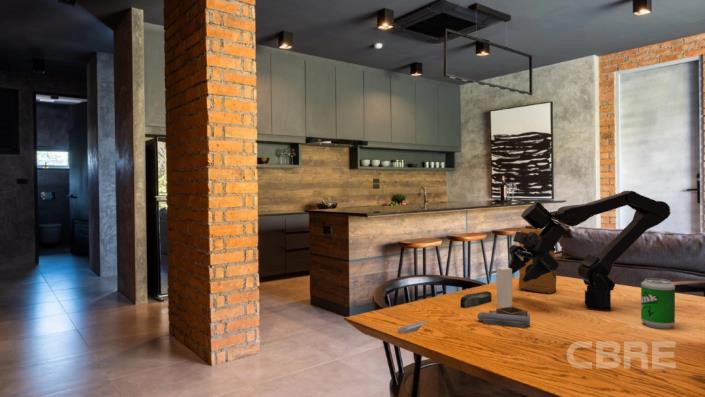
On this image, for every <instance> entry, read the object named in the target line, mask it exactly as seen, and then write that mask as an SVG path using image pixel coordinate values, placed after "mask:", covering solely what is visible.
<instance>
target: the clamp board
mask: <svg viewBox="0 0 705 397" xmlns="http://www.w3.org/2000/svg"><path fill="white" fill-rule="evenodd" d="M528 312H529V311H528V310H525V309H522V308H519V307H515V306H513V305H512V306H511V307H504V308H501V307H499V308H495V310H491V309H490V310H489V311H488V313H497V314H507V315H518V316H529V317H530V318H531V314H530V313H528ZM482 325H488V326H490V325H491V326H498V327H499V326H500V327H509V328H518V329H528V327H529V326H527V323H525V322H514V321H504V320H494V319H484V318H483V321H482Z"/></svg>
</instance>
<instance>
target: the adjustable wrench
mask: <svg viewBox="0 0 705 397" xmlns="http://www.w3.org/2000/svg"><path fill="white" fill-rule="evenodd" d="M427 321H428V320H422V321H419V322H415V323H412V324H411V323H410V324H408V325H404V326H399V327H398V329H397V330H398V331H397V332H399V333H398V334H400V333H407V334H410V333H413V331H414V332H417V331H419V330H420V328H421V327H422V326H423V325H424V324H425V323H426V322H427ZM409 332H410V333H409Z"/></svg>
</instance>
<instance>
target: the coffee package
mask: <svg viewBox="0 0 705 397" xmlns="http://www.w3.org/2000/svg"><path fill="white" fill-rule="evenodd" d="M542 230H543V229H534V228H520V231H519V232H524V233H527V234H528V233H529V232H534V233H536V234H537V235H539V233H540V232H541V231H542ZM518 246H522V247H523V244H520V243H519V245H518ZM523 248H524V247H523ZM524 250H525V251H526V252H527V250H526V249H525V248H524ZM550 254H551V255H552V256H553V257H554V258H555V257H556V256H555V251H554V252H553V251H550ZM555 259H556V258H555ZM532 261H533V260H531V259H530V260H529V262H527V263H525V264H526V265H525V266H524V267H522V268H521V269H519V270H518V272H519V278H518V288H519V289H522V290H525V291H529V292H530V291H531V292H537V293H544V294H553V292H556V291H557V270H556V271H555V272H554V271H551V273H546V274H544V275H541V276H539V277H536V278H534V279H532V280H530V281H527V282H524V281H523V280H522V279H523V278H524V276H525V274H526V273H527V271H528V270H529V269H530V267H531V266H532Z"/></svg>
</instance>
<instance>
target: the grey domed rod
mask: <svg viewBox="0 0 705 397" xmlns="http://www.w3.org/2000/svg"><path fill="white" fill-rule="evenodd" d="M483 318H484V319H494V320H504V321H514V322H525V323H527V326H528V327H530V325H531V316H530V317H529V316H518V315H507V314H497V313H489V312H486V311H485V312H484V311H481V312H479V313H477V320H478V321H480V322H483Z"/></svg>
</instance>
